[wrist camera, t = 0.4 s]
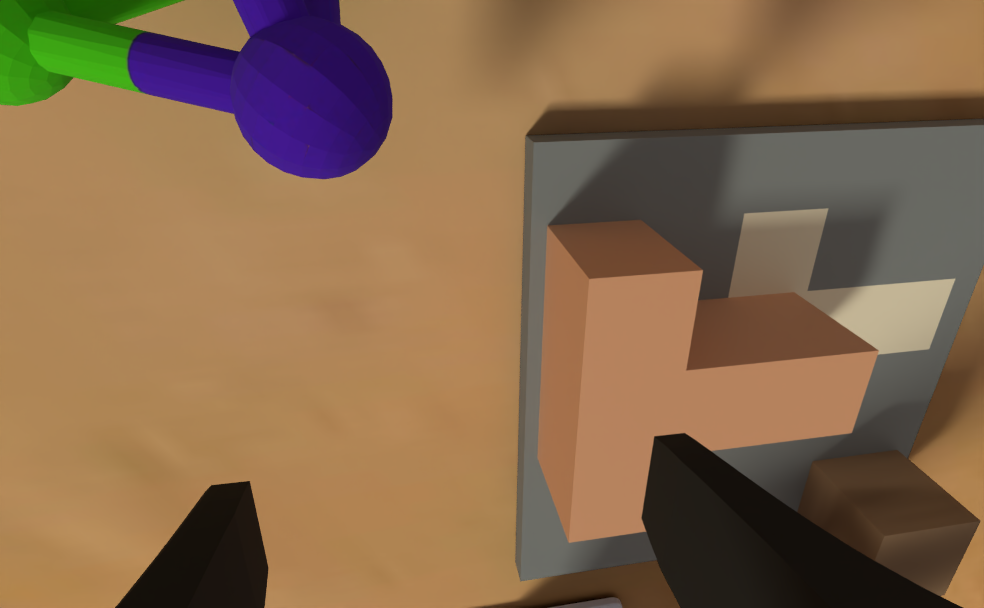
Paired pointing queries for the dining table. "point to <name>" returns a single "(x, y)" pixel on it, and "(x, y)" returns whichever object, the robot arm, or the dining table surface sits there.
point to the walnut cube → (890, 515)
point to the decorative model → (216, 73)
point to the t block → (671, 370)
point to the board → (769, 270)
